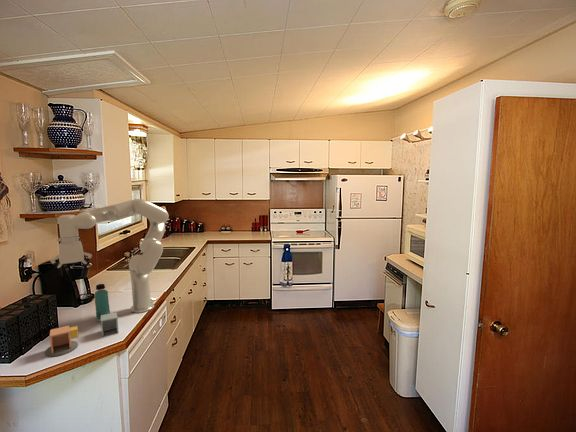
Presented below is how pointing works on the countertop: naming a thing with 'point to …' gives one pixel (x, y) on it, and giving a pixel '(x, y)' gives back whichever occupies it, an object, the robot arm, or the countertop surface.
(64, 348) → the charcoal mat
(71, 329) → the mustard cube
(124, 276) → the countertop surface
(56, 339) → the rust cover
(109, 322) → the slate cover
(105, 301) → the beverage bottle
